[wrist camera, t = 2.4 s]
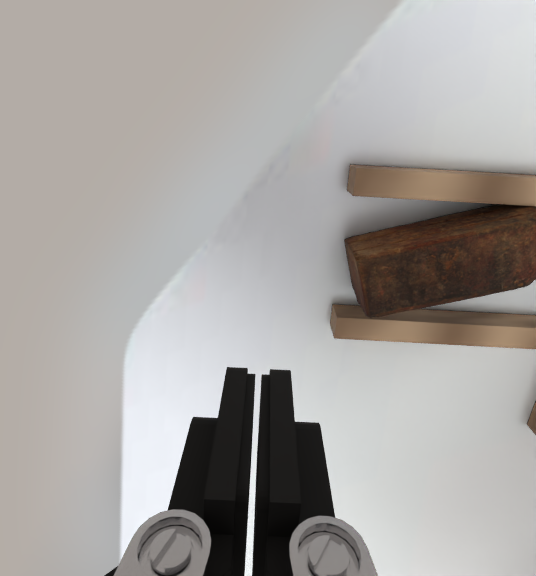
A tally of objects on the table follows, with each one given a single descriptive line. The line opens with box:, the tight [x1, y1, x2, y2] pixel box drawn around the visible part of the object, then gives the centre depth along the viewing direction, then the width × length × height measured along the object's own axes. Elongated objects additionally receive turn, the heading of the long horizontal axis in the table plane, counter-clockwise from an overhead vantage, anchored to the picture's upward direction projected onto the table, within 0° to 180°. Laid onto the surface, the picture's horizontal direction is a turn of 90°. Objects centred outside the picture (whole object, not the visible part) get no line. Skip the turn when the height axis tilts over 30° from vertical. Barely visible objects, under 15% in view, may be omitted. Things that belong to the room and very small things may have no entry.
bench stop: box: [330, 165, 536, 435], centre depth 23 cm, size 20×26×7 cm
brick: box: [345, 204, 536, 318], centre depth 24 cm, size 11×4×5 cm, turn 103°
